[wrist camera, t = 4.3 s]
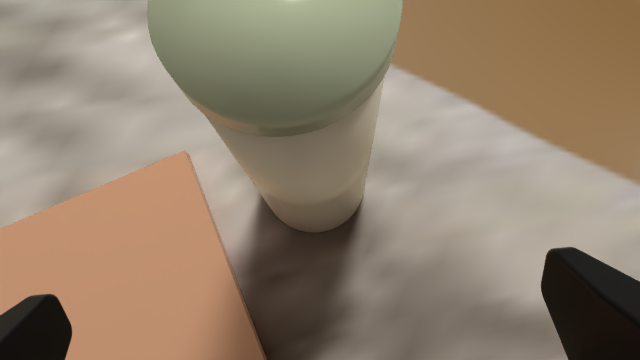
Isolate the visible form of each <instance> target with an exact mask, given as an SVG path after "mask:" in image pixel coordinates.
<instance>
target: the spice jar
mask: <svg viewBox="0 0 640 360" xmlns="http://www.w3.org/2000/svg"><path fill="white" fill-rule="evenodd" d="M402 1H403V0H148V9H147V18H148V28H149V33H150V37H151V41H152V44H153V46H154V48H155V51H156V53H157V56H158V57H159V59H160V61H161V62H162V64H163V65H164V67H165V69H166V70H167V71H168V73H169V74H170V75H171V77H172V78H173V80H174V81H175V82H176V84H177V85H178V86H179V88H180V89H181V90H182V92H183V93H184V94H185V96H186V97H187V98H188V99H189V100H190V102H191V103H192V104H193V105H194V106H195V107H196V108H198V109H199V110H200V111H201V112H202V113H203V114H205V116H206V117H207V119H208V120H209V121H210V123H211V124H212V126H213V127H214V129H215V130H216V131H217V133H218V134H219V136H220V137H221V139H222V140H223V141H224V143H225V144H226V146H227V147H228V148H229V150H230V151H231V153H232V154H233V156H234V157H235V158H236V160H237V161H238V163H239V164H240V165H241V167H242V168H243V170H244V171H245V173H246V174H247V175H248V177H249V178H250V180H251V181H252V183H253V184H254V185H255V187H256V188H257V190H258V191H259V192H260V194H261V195H262V197H263V198H264V200H265V201H266V202H267V204H268V205H269V207H270V208H271V209H272V211H273V212H274V214H275V215H276V216H277V217H278V218H279V219H280V220H281V221H282V222H284V223H285V224H286V225H288V226H290V227H292V228H294V229H297V230H300V231H304V232H313V233H314V232H324V231H328V230H331V229H334V228H336V227H338V226H340V225H341V224H343V223H344V222H346V221H347V220H348V219H349V218H350V217H351V216H352V215H353V214H354V213H355V211H356V210H357V208H358V207H359V205H360V203H361V200H362V197H363V193H364V188H365V183H366V177H367V172H368V166H369V161H370V155H371V149H372V144H373V138H374V133H375V127H376V122H377V116H378V111H379V105H380V100H381V94H382V88H383V83H384V77H385V74H386V72H387V70H388V68H389V65H390V63H391V60H392V57H393V54H394V48H395V44H396V39H397V34H398V29H399V24H400V18H401V13H402Z"/></svg>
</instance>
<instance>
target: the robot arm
mask: <svg viewBox="0 0 640 360" xmlns="http://www.w3.org/2000/svg"><path fill="white" fill-rule="evenodd" d="M541 291H542V295H543V298H544V301H545V303H546V306H547V308H548V310H549V313H550V315H551V318H552V320H553V323H554V325H555V328H556V330H557V333H558V335H559V338H560V340H561V343H562V345H563V347H564V350H565V352H566V355H567V357H568V360H640V282H639V281H637V280H635V279H633V278H632V277H630V276H628V275H626V274H624V273H622V272H620V271H618V270H616V269H614V268H613V267H611V266H609V265H607V264H605V263H603V262H601V261H599V260H597V259H595V258H594V257H592V256H590V255H588V254H586V253H584V252H582V251H580V250H578V249H576V248H573V247H564V248H553V249H551V250H549V251H548V253H547V255H546V260H545V265H544V270H543V276H542V281H541ZM71 338H72V326H71V323H70V321H69V319H68V317H67V315H66V313H65V311H64V309H63V307H62V305H61V303H60V301H59V299H58V298H57V297H56V296H55V295H54V294H40V295H32V296H29V297H27V298H25V299H24V300H22V301H21V302H19V303H18V304H16V305H15V306H13V307H12V308H10V309H9V310H7V311H6V312H4V313H3V314H1V315H0V360H65V359H66V355H67V352H68V349H69V345H70V342H71Z"/></svg>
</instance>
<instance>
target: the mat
mask: <svg viewBox="0 0 640 360" xmlns="http://www.w3.org/2000/svg"><path fill="white" fill-rule="evenodd" d="M40 294H54V295H55V296H56V297H57V298H58V299H59V301H60V303H61V305H62V307H63V309H64V311H65V313H66V315H67V317H68V319H69V321H70V323H71V326H72V338H71V342H70V345H69V349H68V352H67V355H66V359H65V360H267V359H266V356H265V353H264V351H263V348H262V345H261V343H260V340H259V338H258V335H257V332H256V330H255V327H254V324H253V322H252V319H251V317H250V314H249V311H248V309H247V306H246V304H245V301H244V298H243V296H242V293H241V290H240V288H239V285H238V283H237V280H236V277H235V275H234V272H233V269H232V267H231V264H230V262H229V259H228V256H227V254H226V251H225V248H224V246H223V243H222V241H221V238H220V235H219V233H218V230H217V227H216V225H215V222H214V220H213V217H212V214H211V212H210V209H209V207H208V204H207V201H206V199H205V196H204V193H203V191H202V188H201V186H200V183H199V180H198V178H197V175H196V172H195V170H194V167H193V165H192V162H191V159H190V157H189V154H188V153H187V152H186V151H182V152H180V153H178V154H175V155H173V156H171V157H168V158H166V159H163V160H161V161H159V162H156V163H154V164H152V165H149V166H147V167H145V168H142V169H140V170H138V171H135V172H133V173H130V174H128V175H126V176H123V177H121V178H119V179H116V180H114V181H112V182H109V183H107V184H105V185H102V186H100V187H98V188H95V189H93V190H90V191H88V192H86V193H83V194H81V195H79V196H76V197H74V198H72V199H69V200H67V201H65V202H62V203H60V204H58V205H55V206H53V207H50V208H48V209H46V210H43V211H41V212H39V213H36V214H34V215H32V216H29V217H27V218H25V219H22V220H20V221H17V222H15V223H13V224H10V225H8V226H6V227H3V228H1V229H0V315H1V314H3V313H4V312H6V311H7V310H9V309H10V308H12V307H13V306H15V305H16V304H18V303H19V302H21V301H22V300H24V299H25V298H27V297H29V296H32V295H40Z"/></svg>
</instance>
